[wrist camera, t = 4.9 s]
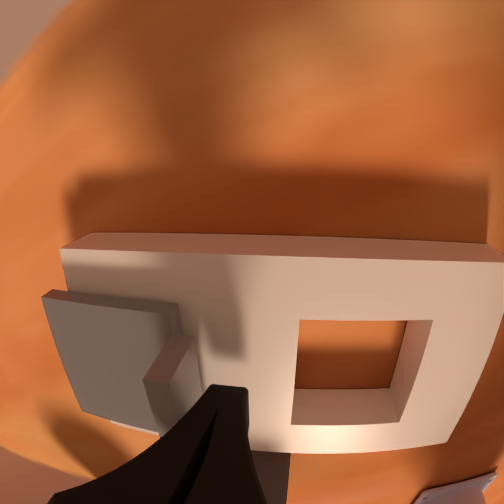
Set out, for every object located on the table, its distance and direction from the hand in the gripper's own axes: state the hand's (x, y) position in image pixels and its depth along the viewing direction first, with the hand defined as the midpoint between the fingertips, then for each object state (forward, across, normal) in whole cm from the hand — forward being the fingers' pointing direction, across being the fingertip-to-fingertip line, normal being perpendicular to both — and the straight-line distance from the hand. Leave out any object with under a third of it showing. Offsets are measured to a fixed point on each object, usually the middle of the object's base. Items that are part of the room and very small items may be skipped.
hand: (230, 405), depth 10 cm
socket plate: (+4, -2, 0) cm, 5 cm away
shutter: (+1, +5, 0) cm, 5 cm away
